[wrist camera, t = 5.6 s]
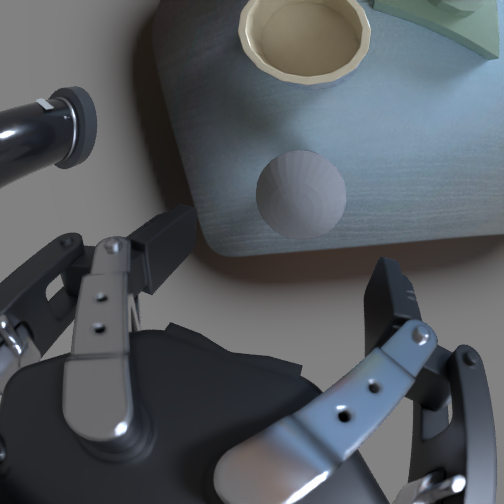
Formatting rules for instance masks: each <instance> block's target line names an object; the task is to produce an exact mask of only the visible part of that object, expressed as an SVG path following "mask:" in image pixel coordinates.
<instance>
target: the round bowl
mask: <svg viewBox="0 0 504 504" xmlns="http://www.w3.org/2000/svg"><path fill="white" fill-rule="evenodd" d="M238 34H239V37H240V41H241V44H242V47H243V50H244V52H245V54H246V55H247V56H248V57H249V58H250V59H251V60H252V62H253V63H254V64H255V65H256V66H257V67H258V68H259V69H260V70H262V71H264V72H266V73H267V74H269V75H271V76H273V77H275V78H277V79H279V80H280V81H282V82H284V83H286V84H288V85H289V86H293V87H298V88H302V89H309V90H317V89H325V88H330V87H333V86H336V85H338V84H340V83H342V82H344V81H345V80H347V79H348V78H350V77H351V76H352V75H353V74H354V72H355V71H356V69H357V68H358V67H359V65H360V64H361V62H362V61H363V59H364V57H365V56H366V54H367V52H368V50H369V42H370V34H371V28H370V25H369V22H368V20H367V17H366V14H365V12H364V9H363V8H362V7H361V6H360V5H359V4H358V2H357V1H356V0H249V1H248V3H247V4H246V5H245V7H244V8H243V10H242V12H241V16H240V22H239V28H238Z"/></svg>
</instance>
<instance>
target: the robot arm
mask: <svg viewBox="0 0 504 504" xmlns="http://www.w3.org/2000/svg"><path fill="white" fill-rule="evenodd" d="M36 101H37V102H36V103H31V104H27V105H23V106H19V107H15V108H11V109H8V110H5V111H1V112H0V189H1V188H3V187H4V186H7V185H9V184H11V183H12V182H15V181H17V180H19V179H21V178H23V177H25V176H27V175H29V174H32V173H34V172H36V171H38V170H41V169H43V168H46V167H48V166H51V165H53V164H56V163H58V162H62V161H65V160H67V159H69V158H70V157H71V156H72V155H73V153H74V152H75V150H76V147H77V144H78V140H79V118H78V113H77V110H76V108H75V106H74V104H73V103H72V101H71V100H70V99H68V98H66V97H57V98H54V99H51V100H44V99H38V100H36ZM196 222H197V211H196V208H195V207H190V206H186V205H181V204H178V205H177V206H176V207H174V208H172V209H171V210H170V211H168V212H165V213H162V214H159V215H157V216H155V217H154V218H152V219H151V220H149V222H146V223H145V224H144V225H143V226H141V227H140V228H138V229H137V230H136V231H134V232H133V233H131V234H130V235H129V236H127V237H126V238H125V237H121V236H114V237H109V238H106V239H103V240H102V241H100V242H99V243H98V244H97V245H96V247H95V246H84V244H83V240H82V236H81V235H80V234H78V233H67V234H63V235H61V236H59V237H57V238H56V239H54V240H53V241H52V242H50V243H49V244H48V245H46V246H45V247H44V248H42V249H41V250H40V251H38V252H37V253H36V254H35V255H33V256H32V257H31V258H29V259H28V260H27V261H26V262H25V263H24V264H22V265H21V266H20V267H18V268H17V269H16V270H15V271H14V272H12V273H11V274H10V275H9V276H8V277H7V278H6V279H4V280H3V281H2V282H1V283H0V395H2V398H1V403H0V504H390V503H389V502H388V500H387V498H386V496H385V495H384V493H383V491H382V490H381V488H380V486H379V484H378V483H377V481H376V479H375V478H374V476H373V474H372V473H371V471H370V469H369V467H368V466H367V464H366V462H365V461H364V459H363V457H362V455H361V454H360V452H359V450H358V448H359V447H360V446H361V445H362V444H363V443H364V442H365V441H366V440H367V439H368V438H369V437H370V436H371V435H372V433H373V432H374V431H375V430H376V429H377V428H378V427H379V426H380V425H381V423H382V422H383V421H384V420H385V419H386V418H387V416H389V414H390V413H391V412H392V411H393V409H394V408H395V407H396V406H397V405H398V403H399V402H400V401H401V400H402V398H403V397H407V398H409V399H411V400H413V435H412V449H411V460H410V469H409V477H408V484H406V485H405V486H404V487H403V488H402V489H401V490H400V491H399V493H398V495H397V497H396V499H395V500H394V502H393V503H392V504H495V501H496V485H497V453H496V438H495V427H494V418H493V412H492V405H491V399H490V393H489V388H488V383H487V379H486V374H485V370H484V365H483V362H482V359H481V357H480V355H479V354H478V352H476V350H474V349H473V348H472V347H470V346H468V345H460V346H458V347H457V349H456V350H455V351H454V352H453V353H452V352H450V351H448V350H447V349H445V348H443V347H441V346H439V345H437V343H438V340H437V336H436V334H435V332H434V330H433V329H432V328H431V327H430V326H429V325H427V324H426V323H424V322H423V321H422V319H421V315H420V311H419V307H418V303H417V301H416V296H415V294H414V289H413V286H412V284H411V282H410V281H409V280H408V278H407V277H406V276H405V275H402V274H401V270H400V267H399V264H398V261H395V260H392V259H389V258H385V257H380V258H379V260H378V262H377V264H376V267H375V269H374V271H373V274H372V276H371V279H370V281H369V283H368V285H367V288H366V290H365V295H364V319H365V321H364V322H365V358H364V359H363V360H362V361H361V362H360V363H359V364H358V365H356V366H355V367H354V368H353V369H352V370H350V371H349V372H348V373H347V374H346V375H345V376H343V377H342V378H341V379H340V380H338V381H337V382H336V383H335V384H334V385H332V386H331V387H330V388H328V389H327V390H326V391H325V392H322V391H321V390H320V389H319V388H318V387H317V386H316V385H315V384H313V383H312V382H310V381H309V380H307V379H306V378H304V377H302V376H300V374H301V370H302V365H299V364H295V363H291V362H288V361H284V360H281V359H277V358H273V357H270V356H262V355H250V354H242V353H233V352H230V351H227V350H226V349H224V348H222V347H221V346H219V345H218V344H216V343H214V342H213V341H211V340H210V339H208V338H206V337H205V336H203V335H202V334H200V333H197V332H195V331H192V330H189V329H187V328H184V327H182V326H179V325H176V324H174V323H170V324H169V325H168V326H167V328H166V329H165V330H164V331H163V330H142V329H141V317H140V303H139V296H138V294H139V293H140V292H141V291H143V292H145V293H148V294H150V295H153V294H154V292H155V291H156V290H157V289H158V288H159V287H160V286H161V285H162V284H163V282H164V281H165V280H166V279H167V278H168V277H169V276H170V275H171V274H172V273H173V271H174V270H175V269H176V268H177V267H178V266H179V265H180V264H181V263H182V262H183V261H184V260H185V259H186V258H187V256H188V255H189V254H190V253H191V252H192V251H193V249H194V246H195V242H196ZM59 274H60V275H61V278H62V281H63V284H64V287H62V288H61V289H60V290H59V291H58V292H57V293H56V294H55V295H54V296H53V297H52V298H51V299H50V300H49V301H48V300H47V298H46V293H45V292H46V288H47V286H48V285H49V283H51V282H52V281H53V280H54V279H55V278H56V277H57V276H58V275H59ZM74 319H75V321H74V328H73V337H72V346H71V352H70V353H67V354H63V355H60V356H57V357H53V358H50V359H47V360H43V361H40V359H41V358H42V357H43V355H44V354H45V353H46V352H47V351H48V349H49V348H50V347H51V346H52V345H53V343H54V342H55V341H56V340H57V338H58V337H59V336H60V335H61V334H62V333H63V332H64V330H65V329H66V328H67V327H68V326H69V325H70V324H71V322H72V321H73V320H74ZM451 402H452V410H453V415H452V420H451V422H450V424H449V421H448V404H450V403H451Z"/></svg>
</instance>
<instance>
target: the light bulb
mask: <svg viewBox="0 0 504 504" xmlns="http://www.w3.org/2000/svg"><path fill="white" fill-rule="evenodd" d="M346 196H347V195H346V188H345V184H344V181H343V178H342V176H341V174H340V173H339V171H338V169H337V168H336V167H335V166H334V165H333V164H332V163H331V162H330V161H329V160H328V159H326V158H325V157H323V156H321V155H319V154H317V153H314V152H310V151H301V150H297V151H291V152H287V153H284V154H281V155H279V156H278V157H276V158H275V159H273V160H272V161H271V162H270V163H269V164H268V165H267V166H266V167H265V168H264V169H263V171H262V173H261V174H260V177H259V179H258V182H257V188H256V201H257V205H258V209H259V211H260V213H261V215H262V217H263V219H264V220H265V222H266V223H267V224H268V225H269V226H270V227H271V228H272V229H273V230H274V231H276V232H277V233H279V234H281V235H283V236H285V237H287V238H291V239H296V240H308V239H313V238H317V237H320V236H322V235H324V234H326V233H327V232H328V231H330V230H331V229H332V228H333V227H334V226H335V225H336V224H337V223H338V221H339V220H340V218H341V216H342V214H343V213H344V209H345V206H346Z"/></svg>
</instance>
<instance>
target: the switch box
mask: <svg viewBox="0 0 504 504" xmlns="http://www.w3.org/2000/svg"><path fill="white" fill-rule="evenodd" d="M373 9H374V10H377V11H381V12H384V13H387V14H390V15H393V16H396V17H399V18H402V19H405V20H408V21H410V22H413V23H416V24H418V25H421V26H423V27H425V28H428V29H430V30H432V31H435V32H437V33H439V34H441V35H443V36H445V37H447V38H449V39H451V40H453V41H455V42H457V43H459V44H461V45H463V46H465V47H467V48H468V49H470V50H472V51H474V52H475V53H477V54H479V55H480V56H482V57H484V58H485V59H487V60H493V59H498V58H499V23H498V10H497V2H496V0H374V1H373Z"/></svg>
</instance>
